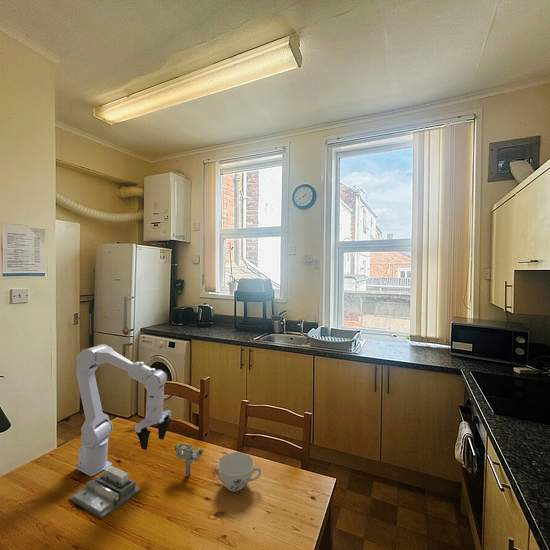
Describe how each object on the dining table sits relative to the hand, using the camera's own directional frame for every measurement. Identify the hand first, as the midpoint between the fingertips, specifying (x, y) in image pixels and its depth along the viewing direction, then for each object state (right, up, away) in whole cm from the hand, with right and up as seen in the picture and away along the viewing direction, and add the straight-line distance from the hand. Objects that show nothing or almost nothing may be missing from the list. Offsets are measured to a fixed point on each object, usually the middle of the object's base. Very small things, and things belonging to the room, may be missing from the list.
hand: (152, 443), depth 106 cm
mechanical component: (+13, -11, -1) cm, 17 cm away
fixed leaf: (-10, -10, -12) cm, 18 cm away
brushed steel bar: (-9, -9, -9) cm, 15 cm away
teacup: (+32, -12, -5) cm, 34 cm away
